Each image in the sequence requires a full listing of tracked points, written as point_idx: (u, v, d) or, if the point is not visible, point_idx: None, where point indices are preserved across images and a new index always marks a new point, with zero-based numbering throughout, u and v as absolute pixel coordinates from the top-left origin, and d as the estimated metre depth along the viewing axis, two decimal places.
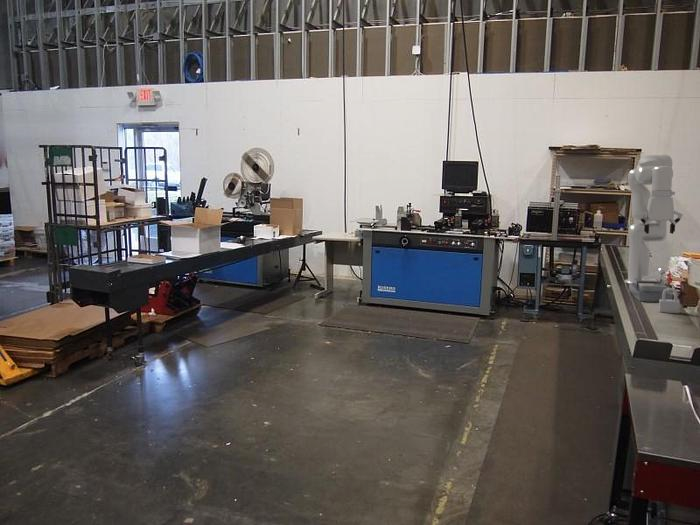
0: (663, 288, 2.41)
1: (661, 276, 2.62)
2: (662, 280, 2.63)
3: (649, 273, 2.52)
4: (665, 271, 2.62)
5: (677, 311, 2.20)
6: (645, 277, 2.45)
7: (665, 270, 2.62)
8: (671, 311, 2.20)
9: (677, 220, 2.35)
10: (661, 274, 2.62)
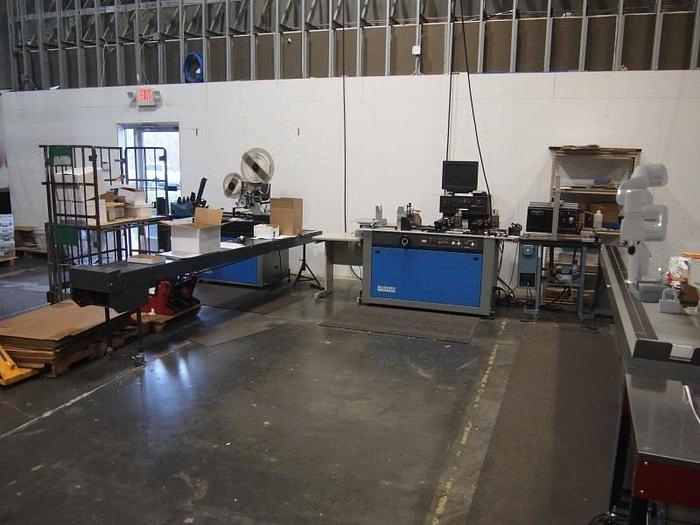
0: (663, 288, 2.41)
1: (661, 276, 2.62)
2: (662, 280, 2.63)
3: (649, 273, 2.52)
4: (665, 271, 2.62)
5: (677, 311, 2.20)
6: (645, 277, 2.45)
7: (665, 270, 2.62)
8: (671, 311, 2.20)
9: (637, 243, 2.52)
10: (661, 274, 2.62)
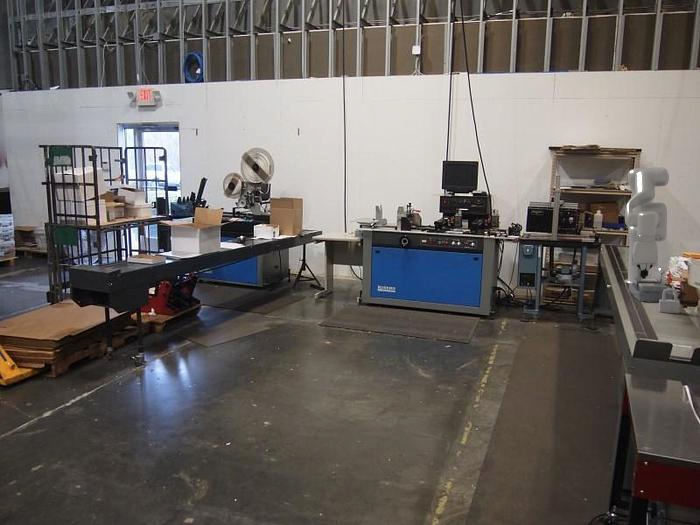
0: (663, 288, 2.41)
1: (661, 276, 2.62)
2: (662, 280, 2.63)
3: (651, 273, 2.52)
4: (665, 271, 2.62)
5: (677, 311, 2.20)
6: (649, 277, 2.44)
7: (665, 270, 2.62)
8: (671, 311, 2.20)
9: (650, 266, 2.48)
10: (661, 274, 2.62)
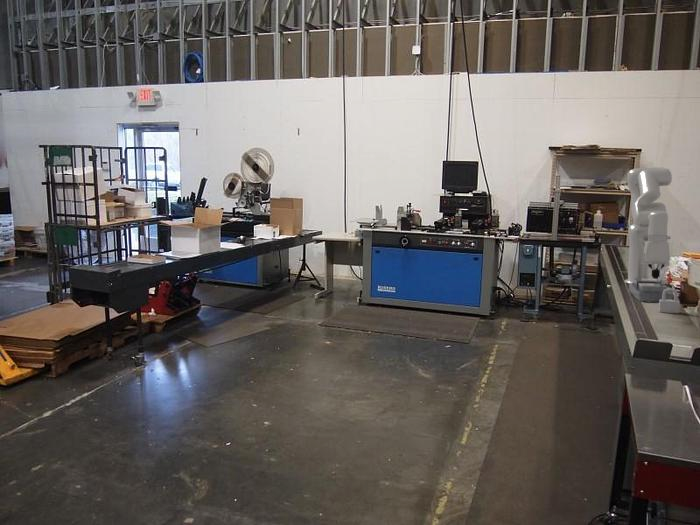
0: (663, 288, 2.41)
1: None
2: (663, 280, 2.63)
3: (660, 274, 2.49)
4: (665, 271, 2.62)
5: (677, 311, 2.20)
6: (663, 278, 2.41)
7: (665, 270, 2.62)
8: (671, 311, 2.20)
9: (661, 266, 2.46)
10: None
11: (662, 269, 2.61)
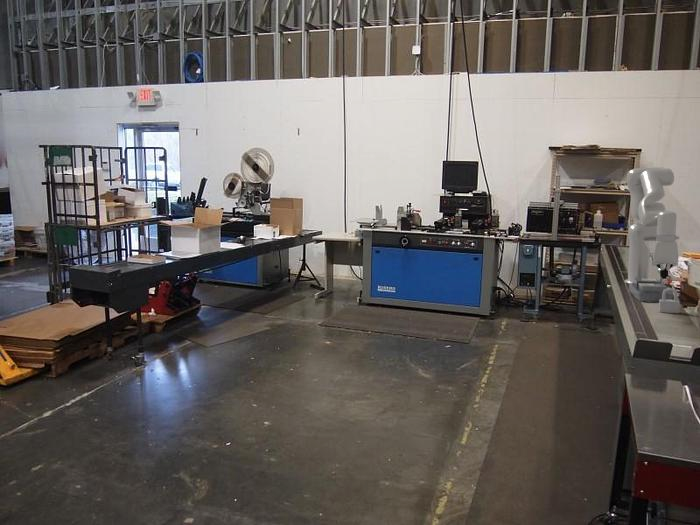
0: (663, 288, 2.41)
1: None
2: (663, 280, 2.63)
3: (668, 274, 2.48)
4: None
5: (677, 311, 2.20)
6: (675, 279, 2.39)
7: None
8: (671, 311, 2.20)
9: (670, 266, 2.45)
10: None
11: None
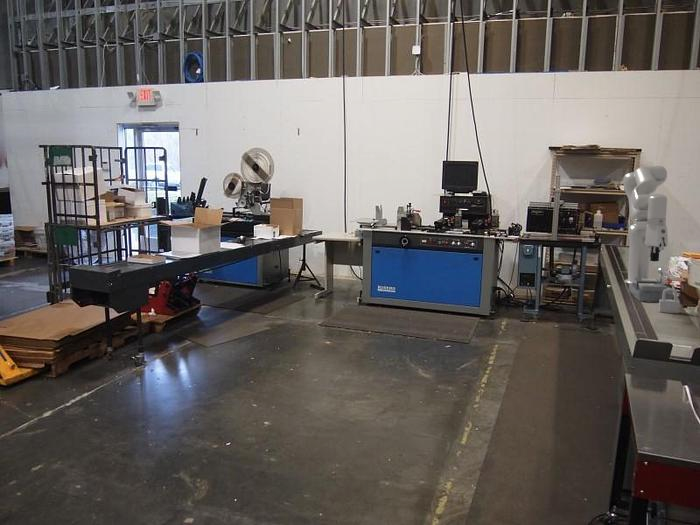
0: (663, 288, 2.41)
1: (662, 276, 2.62)
2: (663, 280, 2.63)
3: (668, 274, 2.48)
4: None
5: (677, 311, 2.20)
6: (675, 279, 2.39)
7: (665, 270, 2.62)
8: (671, 311, 2.20)
9: (656, 249, 2.49)
10: (662, 274, 2.62)
11: (663, 269, 2.61)
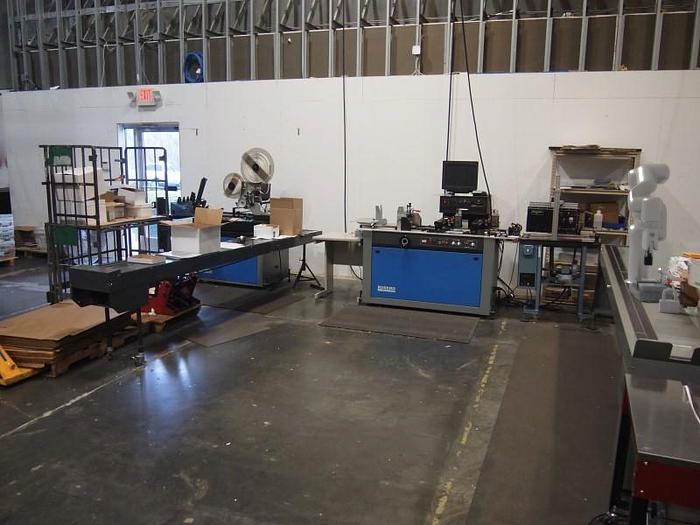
0: (663, 288, 2.41)
1: (662, 276, 2.62)
2: (663, 280, 2.63)
3: (668, 274, 2.48)
4: None
5: (677, 311, 2.20)
6: (675, 279, 2.39)
7: (665, 270, 2.62)
8: (671, 311, 2.20)
9: (647, 253, 2.43)
10: (662, 274, 2.62)
11: (663, 269, 2.61)
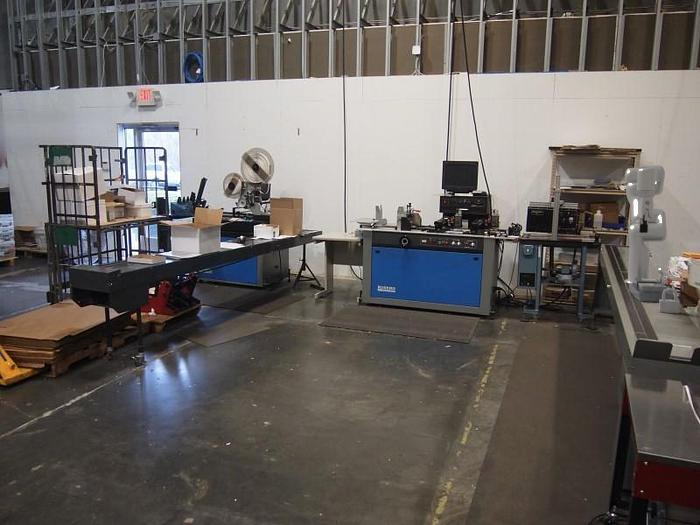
0: (663, 288, 2.41)
1: (662, 276, 2.62)
2: (663, 280, 2.63)
3: (668, 274, 2.48)
4: None
5: (677, 311, 2.20)
6: (675, 279, 2.39)
7: (665, 270, 2.62)
8: (671, 311, 2.20)
9: (643, 221, 2.56)
10: (662, 274, 2.62)
11: (663, 269, 2.61)
